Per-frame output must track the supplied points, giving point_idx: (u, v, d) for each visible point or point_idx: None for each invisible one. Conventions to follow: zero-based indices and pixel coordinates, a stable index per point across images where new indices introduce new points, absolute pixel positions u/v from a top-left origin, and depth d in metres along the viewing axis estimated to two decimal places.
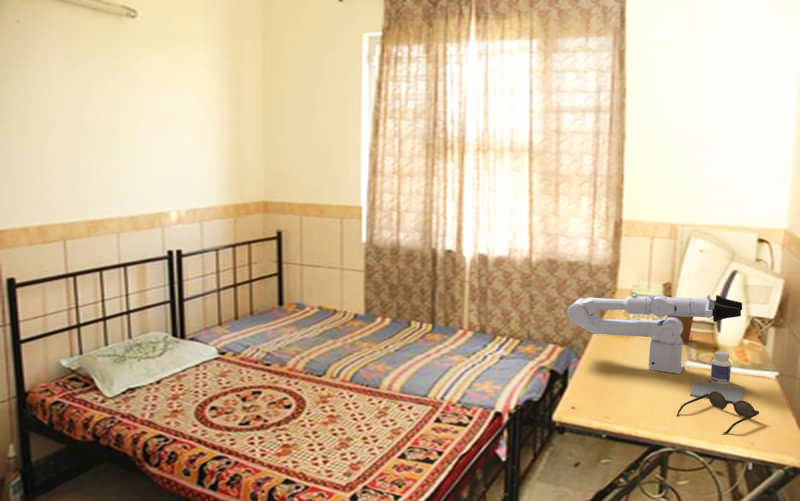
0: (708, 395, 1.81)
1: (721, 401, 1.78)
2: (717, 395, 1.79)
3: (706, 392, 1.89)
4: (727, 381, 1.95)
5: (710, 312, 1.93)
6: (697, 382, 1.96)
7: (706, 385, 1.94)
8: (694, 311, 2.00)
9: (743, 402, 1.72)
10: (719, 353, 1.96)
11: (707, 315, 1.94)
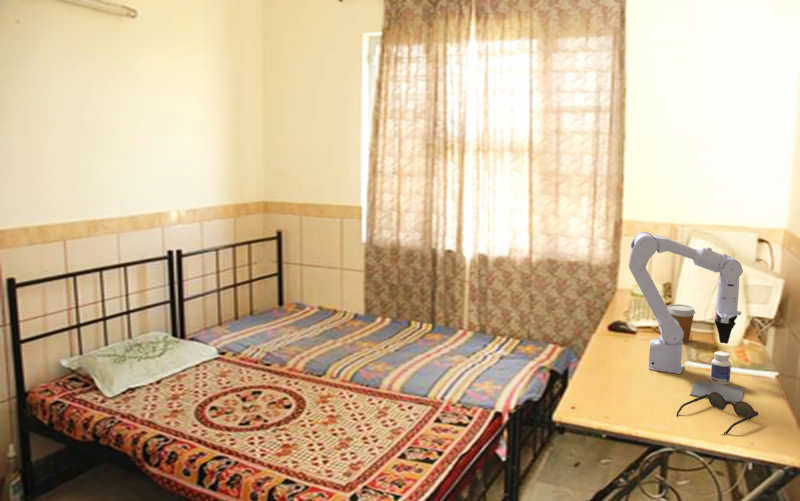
0: (708, 396, 1.81)
1: (720, 402, 1.78)
2: (717, 396, 1.78)
3: (706, 392, 1.89)
4: (727, 381, 1.95)
5: (726, 321, 1.95)
6: (697, 382, 1.96)
7: (706, 385, 1.94)
8: (724, 301, 1.99)
9: (743, 403, 1.72)
10: (719, 353, 1.96)
11: (723, 318, 1.96)
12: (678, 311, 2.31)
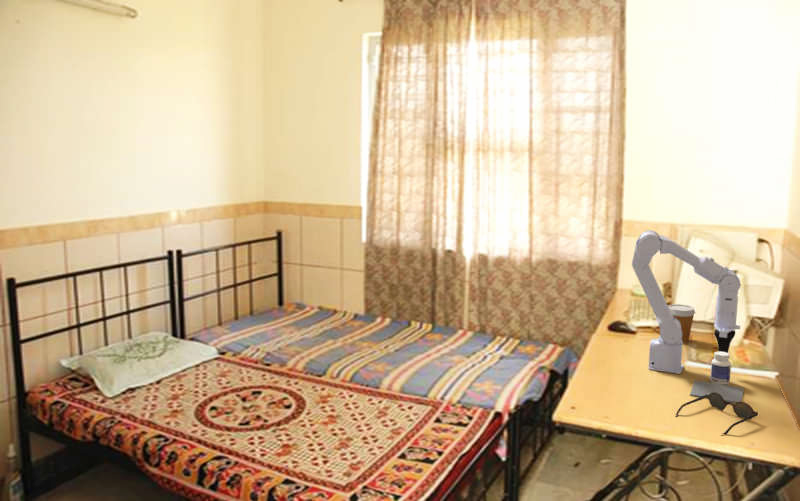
0: (707, 396, 1.81)
1: (720, 402, 1.77)
2: (717, 396, 1.78)
3: (706, 392, 1.89)
4: (727, 381, 1.95)
5: (724, 336, 1.95)
6: (697, 382, 1.96)
7: (706, 385, 1.94)
8: (722, 315, 1.98)
9: (742, 403, 1.72)
10: (719, 353, 1.96)
11: (721, 333, 1.95)
12: (678, 311, 2.31)
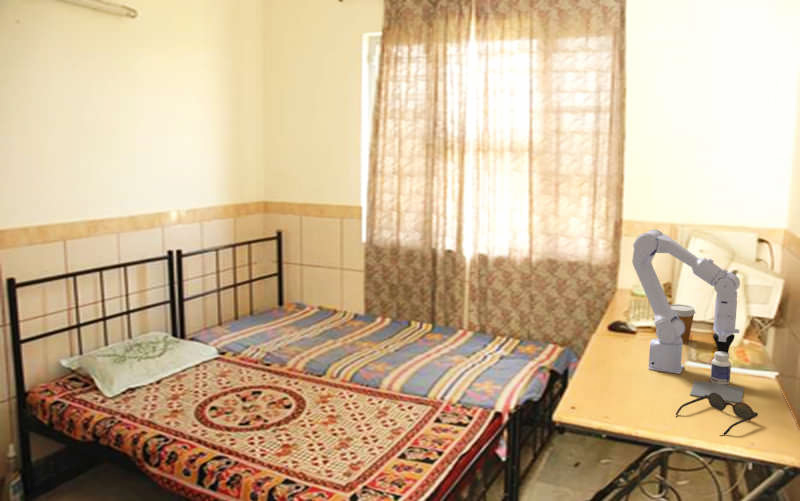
0: (707, 396, 1.81)
1: (720, 402, 1.77)
2: (716, 397, 1.78)
3: (706, 392, 1.89)
4: (727, 381, 1.95)
5: (724, 340, 1.91)
6: (697, 382, 1.96)
7: (706, 385, 1.94)
8: (721, 319, 1.94)
9: (742, 404, 1.71)
10: (719, 353, 1.95)
11: (720, 337, 1.91)
12: (678, 311, 2.31)
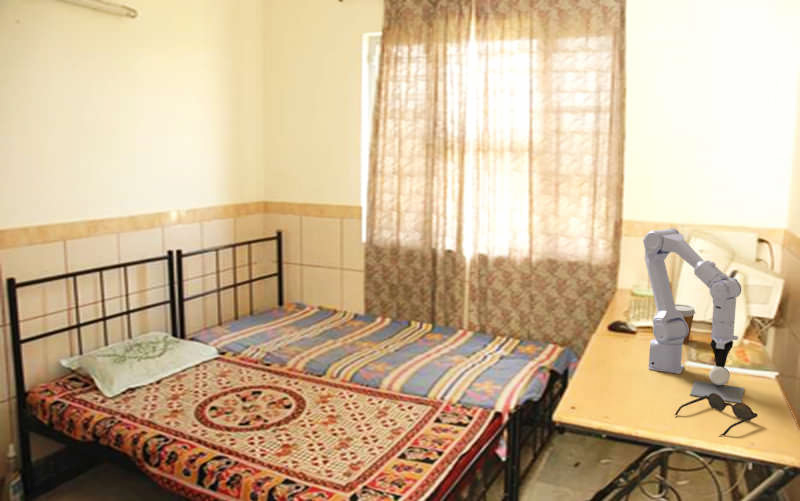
0: (707, 397, 1.80)
1: (719, 403, 1.77)
2: (716, 397, 1.77)
3: (706, 392, 1.89)
4: None
5: (722, 347, 1.85)
6: (697, 382, 1.96)
7: (706, 385, 1.94)
8: (719, 325, 1.88)
9: (741, 404, 1.71)
10: (716, 378, 1.88)
11: (718, 344, 1.85)
12: None
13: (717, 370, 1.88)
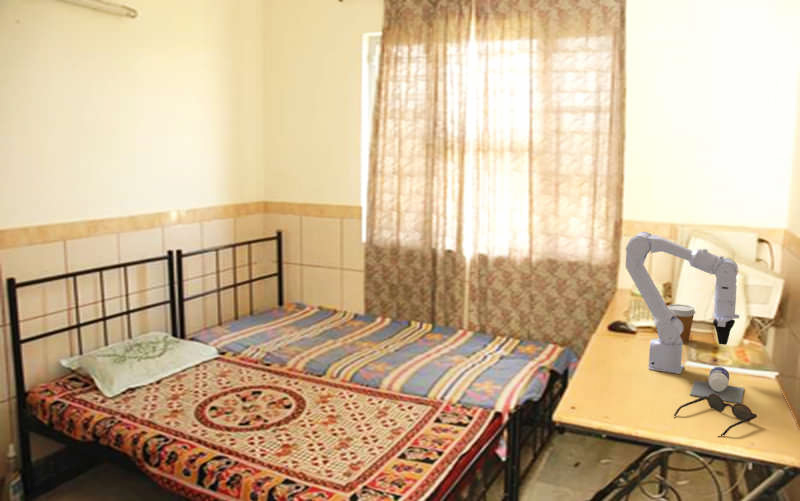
0: (707, 397, 1.80)
1: (719, 404, 1.76)
2: (716, 398, 1.77)
3: (706, 392, 1.89)
4: None
5: (723, 325, 1.92)
6: (697, 382, 1.96)
7: (706, 385, 1.94)
8: (721, 305, 1.96)
9: (741, 405, 1.71)
10: (715, 386, 1.87)
11: (719, 322, 1.92)
12: (678, 311, 2.31)
13: (716, 379, 1.87)
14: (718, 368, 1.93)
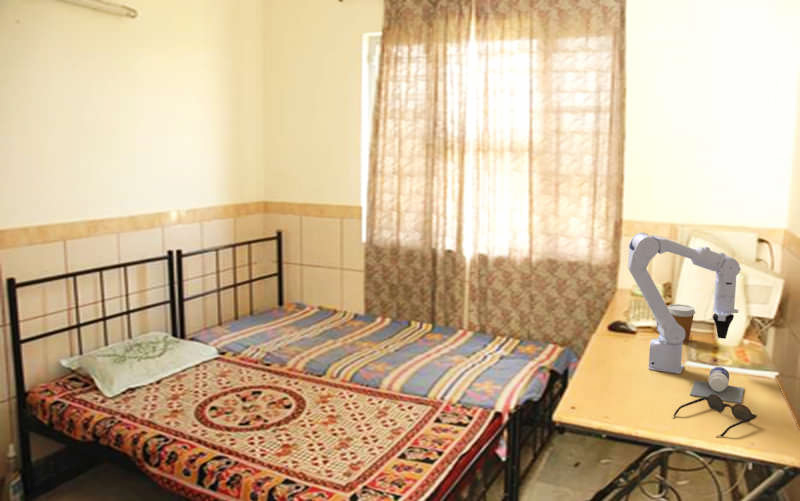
0: (706, 398, 1.80)
1: (719, 404, 1.76)
2: (715, 398, 1.77)
3: (706, 392, 1.89)
4: None
5: (723, 319, 1.98)
6: (697, 382, 1.96)
7: (706, 385, 1.94)
8: (721, 299, 2.01)
9: (740, 405, 1.70)
10: (715, 386, 1.87)
11: (720, 316, 1.98)
12: (678, 311, 2.31)
13: (716, 379, 1.87)
14: (718, 368, 1.93)
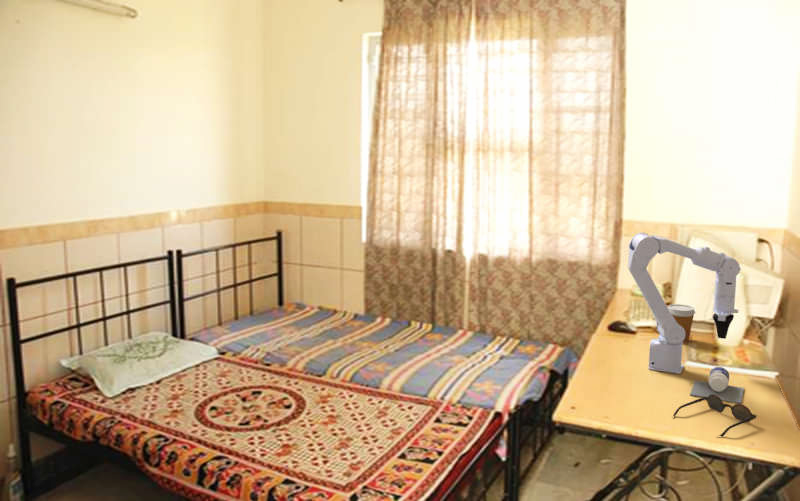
0: (706, 398, 1.79)
1: (718, 404, 1.76)
2: (715, 398, 1.77)
3: (706, 392, 1.89)
4: None
5: (723, 319, 1.98)
6: (697, 382, 1.96)
7: (706, 385, 1.94)
8: (721, 299, 2.01)
9: (740, 406, 1.70)
10: (715, 386, 1.87)
11: (720, 316, 1.98)
12: (678, 311, 2.31)
13: (716, 379, 1.87)
14: (718, 368, 1.93)
